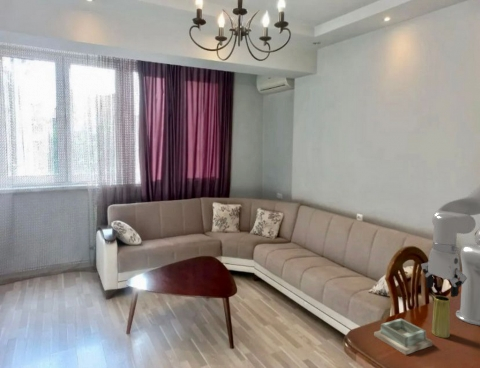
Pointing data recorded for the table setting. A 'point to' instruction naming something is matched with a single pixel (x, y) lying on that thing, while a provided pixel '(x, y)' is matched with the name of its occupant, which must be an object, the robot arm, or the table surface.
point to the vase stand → (403, 336)
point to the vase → (441, 316)
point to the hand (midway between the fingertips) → (441, 291)
